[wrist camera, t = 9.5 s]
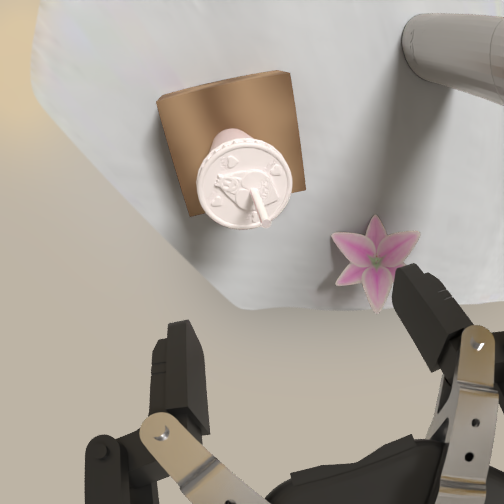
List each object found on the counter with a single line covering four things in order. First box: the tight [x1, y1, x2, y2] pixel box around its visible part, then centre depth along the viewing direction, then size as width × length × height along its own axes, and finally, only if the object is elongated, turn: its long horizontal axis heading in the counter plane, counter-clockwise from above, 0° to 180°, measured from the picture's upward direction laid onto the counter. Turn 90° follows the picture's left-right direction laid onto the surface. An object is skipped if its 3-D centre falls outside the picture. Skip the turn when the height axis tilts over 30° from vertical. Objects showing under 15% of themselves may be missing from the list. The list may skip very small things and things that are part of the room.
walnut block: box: [156, 70, 306, 217], centre depth 31 cm, size 12×12×5 cm
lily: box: [331, 215, 420, 314], centre depth 41 cm, size 12×12×10 cm
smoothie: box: [196, 128, 292, 230], centre depth 23 cm, size 6×6×14 cm
